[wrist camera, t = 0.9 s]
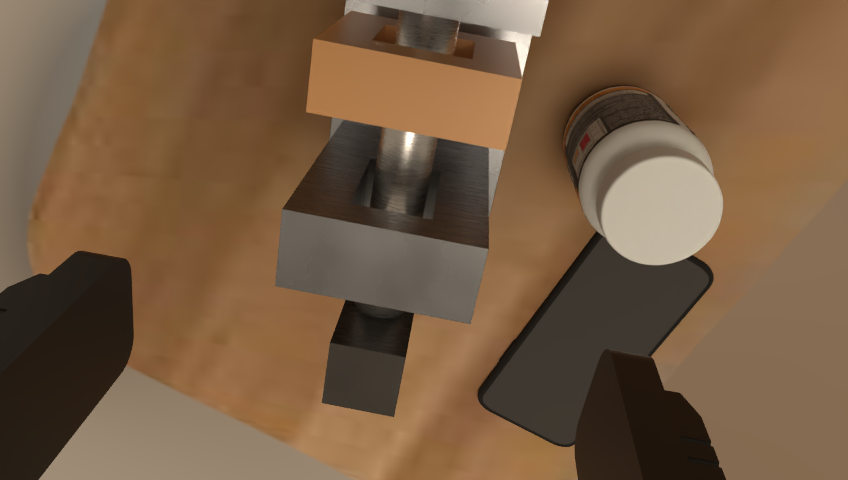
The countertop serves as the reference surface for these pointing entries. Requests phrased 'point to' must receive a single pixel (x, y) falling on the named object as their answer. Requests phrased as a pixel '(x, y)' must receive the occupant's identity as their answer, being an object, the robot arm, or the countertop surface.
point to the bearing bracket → (394, 232)
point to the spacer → (415, 82)
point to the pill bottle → (642, 176)
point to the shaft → (402, 193)
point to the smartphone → (588, 335)
